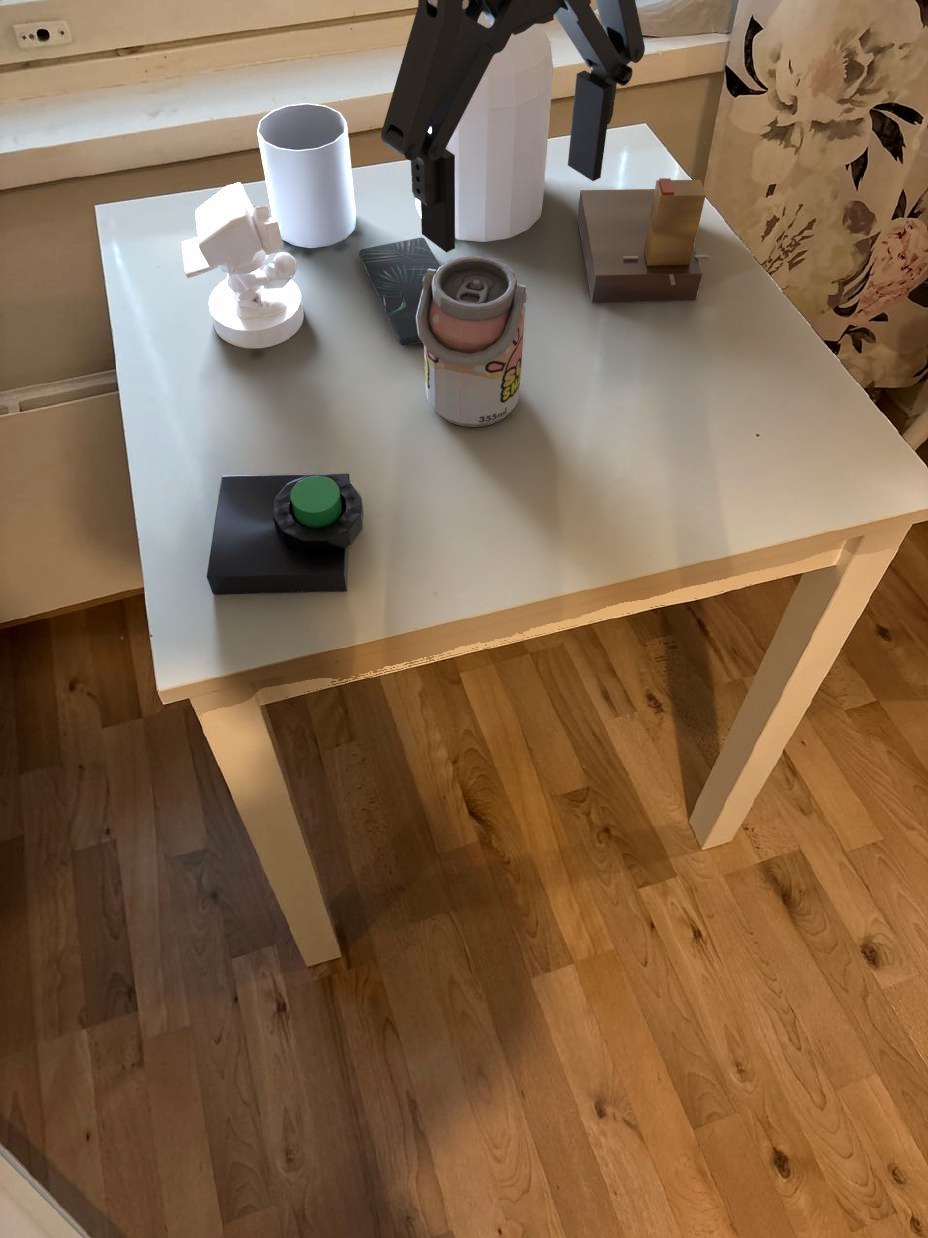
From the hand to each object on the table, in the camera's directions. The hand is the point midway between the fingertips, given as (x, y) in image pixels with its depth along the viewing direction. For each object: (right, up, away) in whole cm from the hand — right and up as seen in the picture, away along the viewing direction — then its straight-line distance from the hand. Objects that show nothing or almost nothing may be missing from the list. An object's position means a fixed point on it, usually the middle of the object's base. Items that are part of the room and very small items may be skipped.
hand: (513, 205), depth 67 cm
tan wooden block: (+16, +5, +22) cm, 28 cm away
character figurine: (-23, -1, +22) cm, 32 cm away
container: (-2, +14, +33) cm, 36 cm away
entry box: (-17, -23, +7) cm, 30 cm away
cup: (-19, +11, +31) cm, 38 cm away
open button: (-14, -21, +4) cm, 26 cm away
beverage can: (-3, -11, +16) cm, 19 cm away
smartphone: (-8, +2, +24) cm, 25 cm away
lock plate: (+13, +7, +27) cm, 31 cm away
